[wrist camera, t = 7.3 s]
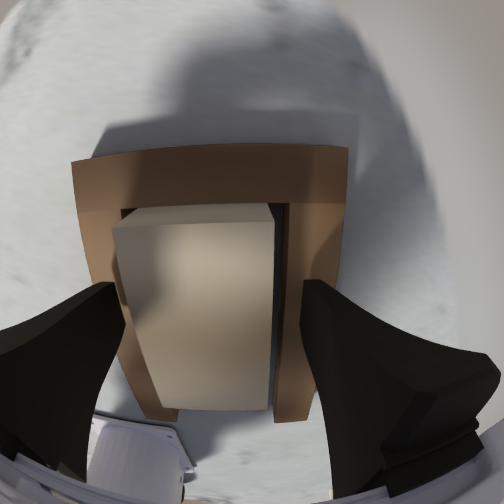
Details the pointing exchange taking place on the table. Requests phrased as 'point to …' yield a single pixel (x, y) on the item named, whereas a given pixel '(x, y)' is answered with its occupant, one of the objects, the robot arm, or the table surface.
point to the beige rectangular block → (201, 301)
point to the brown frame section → (223, 192)
